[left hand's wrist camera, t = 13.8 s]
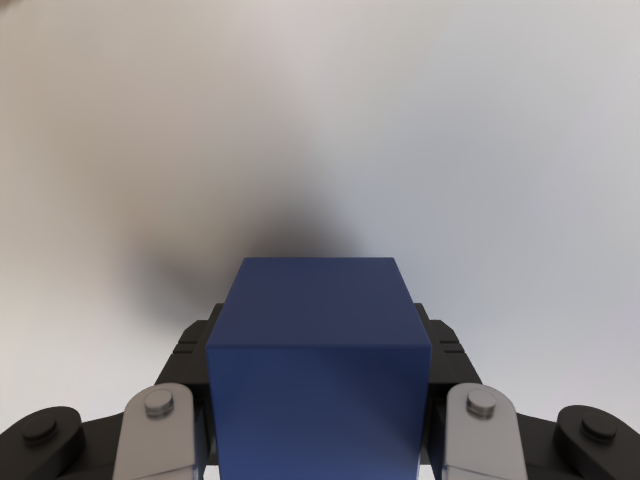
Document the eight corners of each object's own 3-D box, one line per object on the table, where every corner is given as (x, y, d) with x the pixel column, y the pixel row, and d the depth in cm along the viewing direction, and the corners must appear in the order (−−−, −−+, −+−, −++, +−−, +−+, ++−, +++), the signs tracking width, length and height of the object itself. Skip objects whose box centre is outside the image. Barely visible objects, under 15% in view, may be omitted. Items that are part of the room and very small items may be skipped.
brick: (243, 256, 12) (203, 346, 8) (394, 256, 12) (434, 346, 8) (252, 390, 14) (223, 523, 9) (385, 390, 14) (414, 523, 9)
